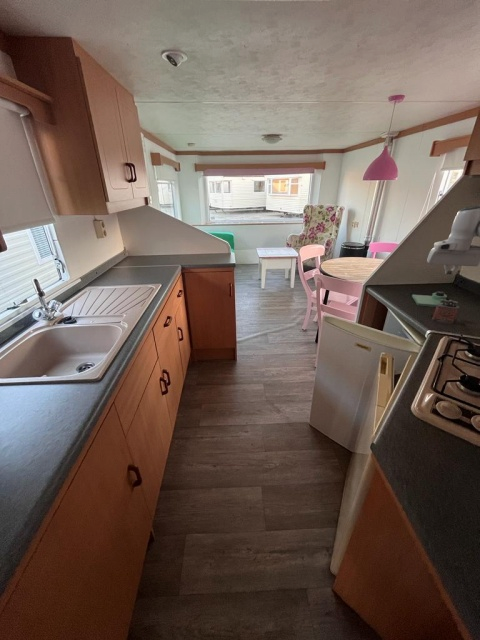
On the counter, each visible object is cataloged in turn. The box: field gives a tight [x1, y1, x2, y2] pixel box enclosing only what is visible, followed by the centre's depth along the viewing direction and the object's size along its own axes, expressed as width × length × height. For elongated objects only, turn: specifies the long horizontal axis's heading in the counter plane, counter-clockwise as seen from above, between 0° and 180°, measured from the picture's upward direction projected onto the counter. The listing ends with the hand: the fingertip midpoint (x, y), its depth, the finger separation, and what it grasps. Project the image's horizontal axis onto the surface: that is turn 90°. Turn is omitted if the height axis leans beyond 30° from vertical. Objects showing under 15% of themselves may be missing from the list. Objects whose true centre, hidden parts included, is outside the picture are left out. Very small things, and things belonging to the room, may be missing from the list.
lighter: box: [431, 299, 460, 324], centre depth 115 cm, size 8×3×10 cm, turn 65°
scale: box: [411, 292, 448, 308], centre depth 135 cm, size 14×12×3 cm
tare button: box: [435, 290, 445, 296], centre depth 136 cm, size 3×3×2 cm
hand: (448, 274), depth 128 cm, fingers closed
